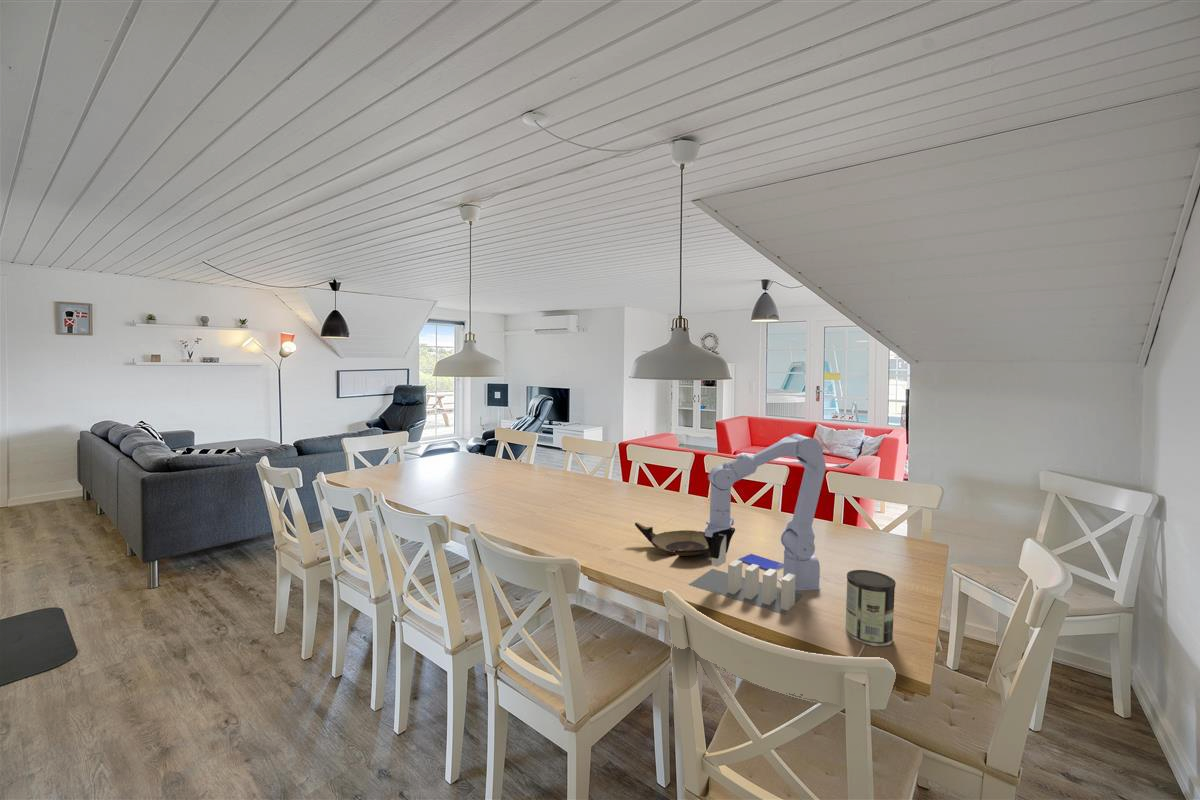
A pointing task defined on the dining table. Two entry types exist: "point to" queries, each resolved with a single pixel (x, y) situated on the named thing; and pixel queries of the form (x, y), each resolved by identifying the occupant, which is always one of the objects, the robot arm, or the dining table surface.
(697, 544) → the oil lamp
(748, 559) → the hard drive
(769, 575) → the domino
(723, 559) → the domino
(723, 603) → the dining table surface
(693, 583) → the mat
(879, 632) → the coffee can
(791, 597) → the domino
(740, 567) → the domino
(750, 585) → the domino
